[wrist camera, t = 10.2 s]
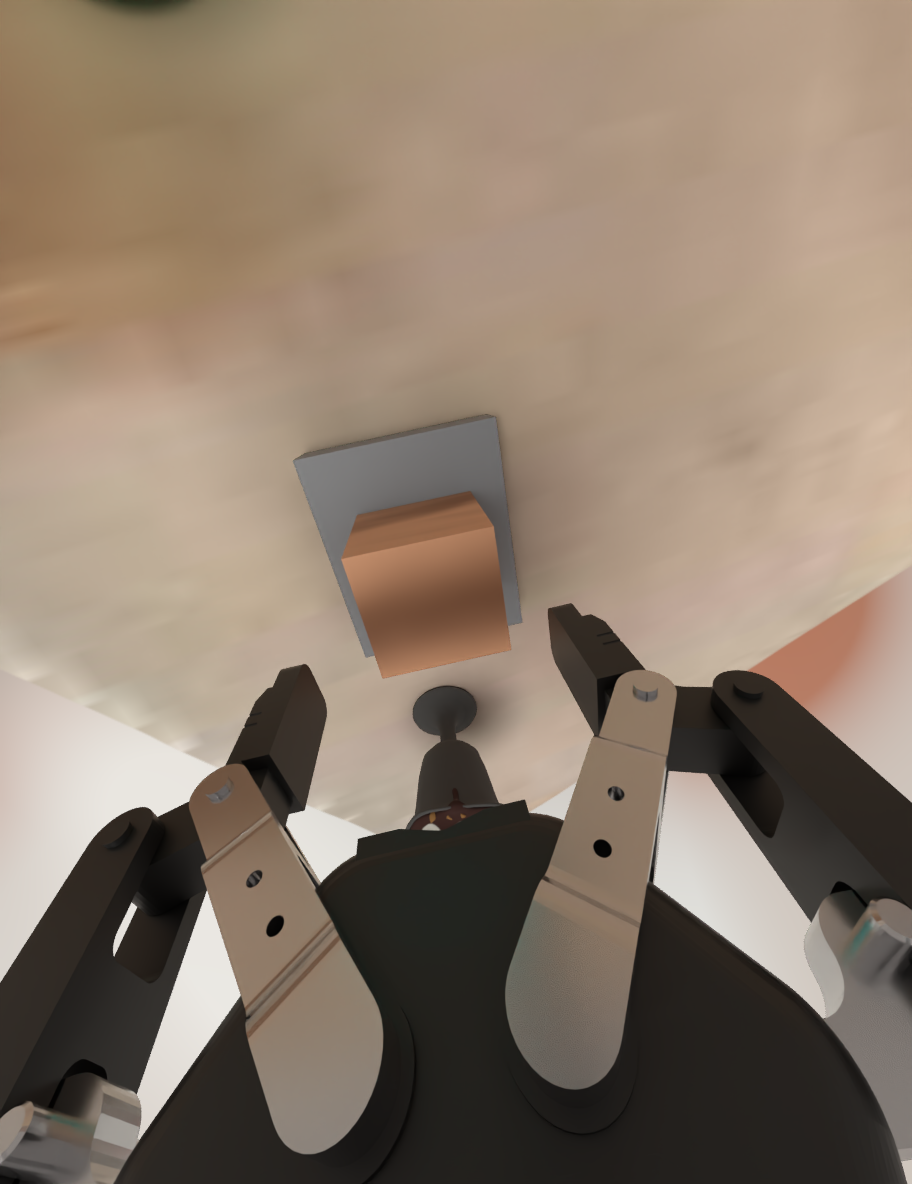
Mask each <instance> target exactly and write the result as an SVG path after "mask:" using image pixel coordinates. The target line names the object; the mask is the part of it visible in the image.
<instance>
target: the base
mask: <svg viewBox="0 0 912 1184" xmlns="http://www.w3.org/2000/svg"><path fill="white" fill-rule="evenodd" d="M293 463H294V465H295V468H296V471H297V473H298V476H299V479H300V481H301V484H302V487H303V490H304V492H305V495H306V498H307V500H308V503H309V506H310V508H311V511H312V514H313V517H314V519H315V522H316V525H317V527H318V530H319V533H320V535H321V538H322V541H323V543H324V546H325V549H326V552H327V554H328V557H329V560H330V562H331V565H332V568H333V570H334V573H335V576H336V579H337V581H338V584H339V587H340V589H341V592H342V595H343V597H344V600H345V603H346V606H347V608H348V611H349V614H350V616H351V619H352V622H353V624H354V627H355V630H356V633H357V635H358V638H359V641H360V643H361V646H362V649H363V651H364V654H365V657H370V656H375V655H374V652H373V649H372V646H371V643H370V641H369V638H368V635H367V632H366V629H365V626H364V623H363V620H362V618H361V615H360V612H359V609H358V606H357V603H356V600H355V598H354V595H353V592H352V589H351V586H350V583H349V580H348V577H347V575H346V572H345V569H344V566H343V563H342V560H341V558H342V555H343V553H344V550H345V547H346V544H347V541H348V539H349V536H350V533H351V530H352V528H353V525H354V522H355V519H356V516H357V515H360V514H364V513H369V512H374V511H378V510H383V509H388V508H392V507H397V506H402V505H407V504H411V503H416V502H421V501H425V500H430V499H435V498H439V497H444V496H449V495H453V494H458V493H463V492H467V491H471V493H472V494H473V496H474V497H475V499H476V500H477V502H478V503H479V505H480V506H481V508H482V509H483V511H484V512H485V514H486V515H487V517H488V518H489V520H490V521H491V523H492V524H493V526H494V532H495V539H496V546H497V553H498V560H499V567H500V574H501V581H502V588H503V595H504V602H505V609H506V616H507V623H508V626H509V625H514V624H518V623H522V616H521V608H520V601H519V593H518V585H517V577H516V569H515V562H514V554H513V546H512V538H511V531H510V523H509V515H508V507H507V500H506V492H505V484H504V476H503V469H502V461H501V453H500V445H499V438H498V430H497V422H496V417H495V416H491V415H488V414H485V415H480V416H476V417H471V418H466V419H462V420H457V421H452V422H448V423H443V424H438V425H434V426H429V427H425V428H420V429H415V430H411V431H406V432H401V433H397V434H392V435H387V436H383V437H378V438H374V439H369V440H364V441H360V442H355V443H350V444H346V445H341V446H336V447H332V448H327V449H322V450H318V451H313V452H309V453H304V454H303V455H301V456H300V457H298V458H296V459H295V460H293Z"/></svg>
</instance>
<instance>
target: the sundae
mask: <svg viewBox="0 0 912 1184" xmlns="http://www.w3.org/2000/svg"><path fill="white" fill-rule="evenodd" d="M476 710H477V706H476V702H475V700H474V698H473V697H472V696H471V695H470V694H469V693H468V692H466V691H465V690H463V689H460V688H456V687H438V688H435V689H432V690H430V691H428V692H426V693H425V694H423V695H422V696H421V697H420V698H419V699H418V700H417V702H416V703H415V705H414V708H413V719H414V721H415V723H416V724H417V725H418V727H419V728H420V729H422V730H423V731H425V732H427V733H429V734H433V735H440V739H441V742H440V743H438V744H436V745H435V746H434V747H433V748H432V749H430V750H429V751H428V752H427V753H426V754H425V756H424V759H423V762H422V766H421V771H420V776H419V783H418V793H417V802H416V810H415V816H413V818H412V819H411V820H410V822H409V823H408V825H407V827H406V829H410V830H444V829H447V828H449V827H451V826H453V825H455V824H456V823H458V822H460V821H462V820H464V819H466V818H468V817H470V816H472V815H474V814H476V813H478V812H480V811H481V810H483V809H487V808H491V807H495V806H499V805H504V804H501V803H499V802H498V800H497V798H496V795H495V792H494V790H493V787H492V784H491V781H490V779H489V776H488V773H487V770H486V768H485V766H484V764H483V762H482V760H481V758H480V755H479V753H478V751H477V750H476V749H475V748H474V747H473V746H471V745H470V744H468V743H465V742H463V741H460V740H456V734H455V733H458V732H460V731H462V730H464V729H465V728H466V727H468V726H469V725H470V724H471V722H472V721H473V719H474V717H475V715H476Z"/></svg>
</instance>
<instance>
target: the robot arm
mask: <svg viewBox="0 0 912 1184" xmlns="http://www.w3.org/2000/svg"><path fill="white" fill-rule="evenodd" d="M548 620H549V630H550V641H551V649H552V653H553V657H554V660H555V663H556V665H557V667H558V669H559V670H560V672H561V674H562V676H563V678H564V680H565V681H566V683H567V685H568V687H569V689H570V691H571V692H572V694H573V696H574V698H575V700H576V702H577V703H578V705H579V707H580V709H581V711H582V713H583V715H584V716H585V718H586V720H587V722H588V724H589V726H590V727H591V729H592V731H593V733H594V736H593V738H592V740H591V742H590V745H589V748H588V751H587V754H586V757H585V760H584V763H583V766H582V769H581V772H580V775H579V778H578V781H577V784H576V787H575V790H574V793H573V796H572V799H571V802H570V805H569V808H568V811H567V814H566V817H565V820H561V819H559V818H556V817H552V816H549V815H543V814H537V813H529V812H528V808H527V805H526V801H525V800H521V801H516V802H512V803H508V804H504V805H499V806H495V807H491V808H487V809H483V810H481V811H480V812H478V813H476V814H474V815H472V816H470V817H468V818H466V819H464V820H462V821H460V822H458V823H456V824H455V825H453V826H451V827H449V828H447V829H444V830H410V829H397V830H393V831H389V832H385V833H380V834H376V835H372V836H368V837H363V838H360V839H358V845H357V854H356V855H355V856H353V857H351V858H350V859H348V860H347V861H345V862H344V863H342V864H341V865H340V866H339V867H337V868H336V869H335V870H334V871H332V873H331V874H329V875H328V876H327V877H326V878H325V879H324V880H323V882H322V883H321V882H320V881H319V879H318V878H317V876H316V874H315V873H314V871H313V869H312V868H311V866H310V864H309V863H308V861H307V859H306V857H305V856H304V854H303V852H302V851H301V849H300V847H299V846H298V844H297V842H296V841H295V839H294V838H293V836H292V834H291V832H290V831H289V829H288V828H287V826H286V822H287V818H288V815H289V814H291V813H295V812H300V811H304V810H305V806H306V802H307V798H308V794H309V789H310V785H311V781H312V777H313V772H314V768H315V764H316V760H317V756H318V751H319V747H320V743H321V739H322V734H323V730H324V726H325V722H326V717H327V708H326V703H325V699H324V697H323V695H322V693H321V691H320V689H319V687H318V685H317V682H316V680H315V678H314V676H313V674H312V672H311V670H310V668H309V667H308V666H307V665H306V664H303V665H299V666H294V667H290V668H286V669H282V670H281V671H280V672H279V674H278V676H277V679H276V681H275V683H274V686H273V687H272V688H268V689H267V690H266V691H265V692H264V693H263V694H262V695H261V696H260V697H259V698H258V700H257V701H256V702H255V704H254V706H253V708H252V710H251V713H250V717H248V719H247V721H246V723H245V725H244V726H245V728H243V729H242V732H241V734H240V736H239V738H238V740H237V742H236V744H235V746H234V749H233V751H232V753H231V755H230V757H229V759H228V761H227V763H226V765H225V766H224V767H221V768H219V769H217V770H216V771H214V772H213V773H211V774H210V775H209V776H207V777H206V778H205V779H204V780H203V781H202V782H201V783H200V784H199V785H198V786H197V787H196V789H195V790H194V792H193V793H192V795H191V797H190V801H189V802H187V803H185V804H183V805H181V806H179V807H177V808H175V809H173V810H171V811H169V812H167V813H165V814H163V815H161V816H159V817H157V816H156V815H155V814H154V813H153V812H152V811H151V810H150V809H149V808H146V807H140V808H135V809H132V810H129V811H127V812H125V813H123V814H121V815H120V816H118V817H116V818H115V819H113V820H112V821H111V822H109V823H108V824H107V825H106V826H105V827H104V828H102V830H100V831H99V832H98V833H97V835H96V836H95V837H94V838H93V839H92V841H91V842H90V843H89V845H88V846H87V848H86V850H85V851H84V853H83V854H82V856H81V857H80V859H79V861H78V862H77V864H76V865H75V867H74V868H73V870H72V871H71V873H70V875H69V876H68V878H67V879H66V881H65V882H64V884H63V886H62V887H61V889H60V890H59V892H58V893H57V895H56V897H55V898H54V900H53V901H52V903H51V904H50V906H49V907H48V909H47V911H46V912H45V914H44V915H43V917H42V918H41V920H40V922H39V923H38V925H37V926H36V928H35V929H34V931H33V933H32V934H31V936H30V937H29V939H28V940H27V942H26V944H25V945H24V947H23V948H22V950H21V951H20V953H19V955H18V956H17V958H16V959H15V961H14V962H13V964H12V965H11V967H10V969H9V970H8V972H7V973H6V975H5V976H4V978H3V980H2V981H1V983H0V1184H907V1181H906V1178H905V1174H904V1170H903V1167H902V1163H901V1161H905V1160H912V803H911V802H910V801H909V800H908V799H907V798H906V797H904V796H903V795H902V794H901V793H900V792H899V791H898V790H897V789H895V788H894V787H893V786H892V785H891V784H890V783H888V781H886V780H885V779H884V778H883V777H882V776H881V775H880V774H878V773H877V772H876V771H875V770H874V769H873V768H872V767H871V766H869V765H868V764H867V763H866V762H865V761H864V760H863V759H861V758H860V757H859V756H858V755H857V754H856V753H855V752H854V751H852V750H851V749H850V748H849V747H848V746H847V745H846V744H844V743H843V742H842V741H841V740H840V739H839V738H838V737H836V736H835V735H834V734H833V733H832V732H831V731H830V730H828V729H827V728H826V727H825V726H824V725H823V724H822V723H821V722H819V721H818V720H817V719H816V718H815V717H814V716H813V715H812V714H810V713H809V712H808V711H807V710H806V709H805V708H804V707H802V706H801V705H800V704H799V703H798V702H797V701H796V700H794V699H793V698H792V697H791V696H790V695H789V694H788V693H787V692H785V691H784V690H783V689H782V688H781V687H780V686H779V685H777V684H776V683H775V682H774V681H772V680H770V679H769V678H767V677H764V676H762V675H759V674H756V673H753V672H748V671H740V670H733V671H727V672H723V673H721V674H719V675H718V676H716V678H715V679H714V681H713V686H712V687H681V686H675V685H674V684H673V683H672V682H671V681H670V680H669V679H668V678H666V677H665V676H663V675H661V674H659V673H656V672H652V671H647V670H645V668H644V667H643V666H642V665H641V664H640V662H639V661H638V660H637V659H636V658H635V657H634V655H633V654H632V653H631V652H630V651H629V649H628V648H627V647H626V646H625V645H624V644H623V642H622V641H620V639H619V638H618V636H617V635H616V634H615V633H613V631H612V629H611V628H610V627H609V626H608V625H607V623H606V622H605V621H603V620H601V619H599V618H597V617H595V616H593V615H592V614H590V615H586V616H581V615H580V613H579V612H578V611H577V609H576V608H575V607H574V605H573V604H571V603H570V604H565V605H561V606H557V607H552V608H549V609H548ZM669 771H678V772H692V773H706V774H708V776H709V777H710V778H711V780H712V781H713V783H714V784H715V786H716V787H717V788H718V790H719V791H720V793H721V794H722V796H723V797H724V798H725V800H726V801H727V803H728V804H729V806H730V807H731V808H732V810H733V811H734V813H735V814H736V816H737V817H738V818H739V820H740V821H741V823H742V824H743V826H744V827H745V829H746V830H747V831H748V832H749V834H750V836H751V837H752V839H753V840H754V841H755V843H756V844H757V846H758V847H759V849H760V850H761V851H762V853H763V854H764V856H765V857H766V858H767V860H768V861H769V863H770V864H771V866H772V867H773V868H774V870H775V871H776V873H777V874H778V876H779V877H780V879H781V880H782V881H783V883H784V884H785V886H786V887H787V889H788V890H789V891H790V893H791V894H792V896H793V897H794V899H795V900H796V901H797V903H798V904H799V906H800V907H801V908H802V910H803V911H804V913H805V914H806V916H807V917H808V918H809V920H810V921H811V924H810V927H809V929H808V930H807V933H806V935H805V939H804V950H805V955H806V959H807V961H808V964H809V967H810V968H811V970H812V972H813V974H814V976H815V978H816V980H817V982H818V984H819V986H820V989H821V991H822V994H823V997H824V1002H825V1007H826V1018H824V1019H822V1018H821V1016H820V1015H819V1014H818V1013H817V1012H816V1011H815V1010H814V1009H813V1008H812V1007H811V1006H810V1005H809V1004H808V1003H807V1002H806V1001H805V1000H804V999H803V998H802V997H801V996H800V995H799V994H797V993H796V992H795V991H794V990H793V989H792V988H790V987H789V986H788V985H787V984H785V983H784V982H782V981H781V980H780V979H779V978H777V977H776V976H774V975H773V974H772V973H771V972H769V971H768V970H767V969H765V968H764V967H763V966H761V965H760V964H759V963H757V962H756V961H755V960H753V959H752V958H751V957H749V956H748V955H747V954H745V953H744V952H743V951H741V950H740V949H739V948H737V947H736V946H735V945H733V944H732V943H731V942H729V941H728V940H727V939H725V938H724V937H723V936H722V935H720V934H719V933H717V932H716V931H715V930H714V929H712V928H711V927H709V926H708V925H707V924H706V923H704V922H703V921H702V920H700V919H699V918H698V917H696V916H695V915H694V914H692V913H691V912H690V911H688V910H687V909H686V908H684V907H683V906H681V905H680V904H679V903H678V902H676V901H675V900H674V899H672V898H671V897H670V896H668V895H667V894H666V893H664V892H663V891H662V890H660V889H659V888H658V887H656V886H655V885H654V878H655V872H656V864H657V856H658V848H659V840H660V832H661V825H662V818H663V810H664V804H665V797H666V789H667V782H668V775H669ZM206 891H208V894H209V897H210V900H211V903H212V907H213V910H214V913H215V916H216V919H217V922H218V925H219V928H220V932H221V935H222V938H223V940H224V944H225V947H226V950H227V953H228V957H229V960H230V963H231V966H232V969H233V972H234V975H235V978H236V981H237V985H238V987H239V991H240V994H241V996H240V998H239V999H238V1000H237V1002H236V1003H235V1005H234V1006H233V1008H232V1009H231V1011H230V1012H229V1014H228V1015H227V1016H226V1017H225V1019H224V1020H223V1022H222V1023H221V1025H220V1026H219V1027H218V1029H217V1030H216V1032H215V1033H214V1035H213V1036H212V1037H211V1039H210V1040H209V1042H208V1043H207V1045H206V1046H205V1047H204V1049H203V1050H202V1052H201V1053H200V1054H199V1056H198V1058H197V1059H196V1060H195V1062H194V1063H193V1065H192V1066H191V1067H190V1069H189V1070H188V1072H187V1073H186V1074H185V1076H184V1077H183V1079H182V1080H181V1082H180V1083H179V1085H178V1086H177V1087H176V1089H175V1090H174V1092H173V1093H172V1095H171V1096H170V1097H169V1099H168V1100H167V1102H166V1103H165V1105H164V1106H163V1108H162V1109H161V1110H160V1112H159V1113H158V1114H157V1116H156V1117H155V1119H154V1120H153V1121H152V1123H151V1124H150V1126H149V1127H148V1129H147V1130H146V1131H145V1133H144V1134H143V1136H142V1137H141V1139H140V1140H139V1139H137V1138H138V1134H139V1129H140V1123H141V1105H140V1101H139V1098H138V1096H137V1092H138V1088H139V1086H140V1083H141V1080H142V1077H143V1074H144V1072H145V1069H146V1066H147V1063H148V1060H149V1057H150V1054H151V1051H152V1048H153V1045H154V1042H155V1039H156V1037H157V1034H158V1031H159V1028H160V1025H161V1022H162V1019H163V1016H164V1013H165V1010H166V1007H167V1005H168V1002H169V999H170V996H171V993H172V990H173V987H174V984H175V981H176V978H177V975H178V972H179V970H180V967H181V964H182V961H183V958H184V955H185V952H186V949H187V946H188V943H189V941H190V937H191V935H192V932H193V929H194V926H195V923H196V920H197V917H198V914H199V911H200V908H201V906H202V903H203V900H204V897H205V894H206ZM131 902H132V903H133V904H135V905H136V906H137V909H136V911H135V913H134V916H133V918H132V920H131V922H130V924H129V927H128V928H127V931H126V933H125V935H124V937H123V939H122V941H121V943H120V946H119V948H118V950H117V952H116V954H115V956H113V943H114V939H115V936H116V933H117V931H118V929H119V927H120V925H121V923H122V921H123V918H124V917H125V915H126V913H127V910H128V908H129V906H130V904H131Z"/></svg>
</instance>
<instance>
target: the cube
mask: <svg viewBox="0 0 912 1184" xmlns="http://www.w3.org/2000/svg"><path fill="white" fill-rule="evenodd" d="M341 560H342V563H343V566H344V569H345V572H346V575H347V577H348V580H349V583H350V586H351V589H352V592H353V595H354V598H355V600H356V603H357V606H358V609H359V612H360V615H361V618H362V620H363V623H364V626H365V629H366V632H367V635H368V638H369V641H370V643H371V646H372V649H373V652H374V655H375V658H376V661H377V664H378V666H379V669H380V672H381V675H382V678H387V677H392V676H396V675H401V674H405V673H410V672H414V671H419V670H423V669H428V668H432V667H437V666H441V665H446V664H450V663H454V662H459V661H463V660H468V659H472V658H477V657H481V656H486V655H490V654H495V653H499V652H504V651H508V650H511V644H510V637H509V630H508V623H507V616H506V609H505V602H504V595H503V588H502V581H501V574H500V567H499V560H498V553H497V546H496V539H495V532H494V526H493V524H492V523H491V521H490V520H489V518H488V517H487V515H486V514H485V512H484V511H483V509H482V508H481V506H480V505H479V503H478V502H477V500H476V499H475V497H474V496H473V494H472V493H471V491H467V492H463V493H458V494H453V495H449V496H444V497H439V498H435V499H430V500H425V501H421V502H416V503H411V504H407V505H402V506H397V507H392V508H388V509H383V510H378V511H374V512H369V513H364V514H360V515H357V516H356V519H355V522H354V525H353V528H352V530H351V533H350V536H349V539H348V541H347V544H346V547H345V550H344V553H343V555H342V558H341Z"/></svg>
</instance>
